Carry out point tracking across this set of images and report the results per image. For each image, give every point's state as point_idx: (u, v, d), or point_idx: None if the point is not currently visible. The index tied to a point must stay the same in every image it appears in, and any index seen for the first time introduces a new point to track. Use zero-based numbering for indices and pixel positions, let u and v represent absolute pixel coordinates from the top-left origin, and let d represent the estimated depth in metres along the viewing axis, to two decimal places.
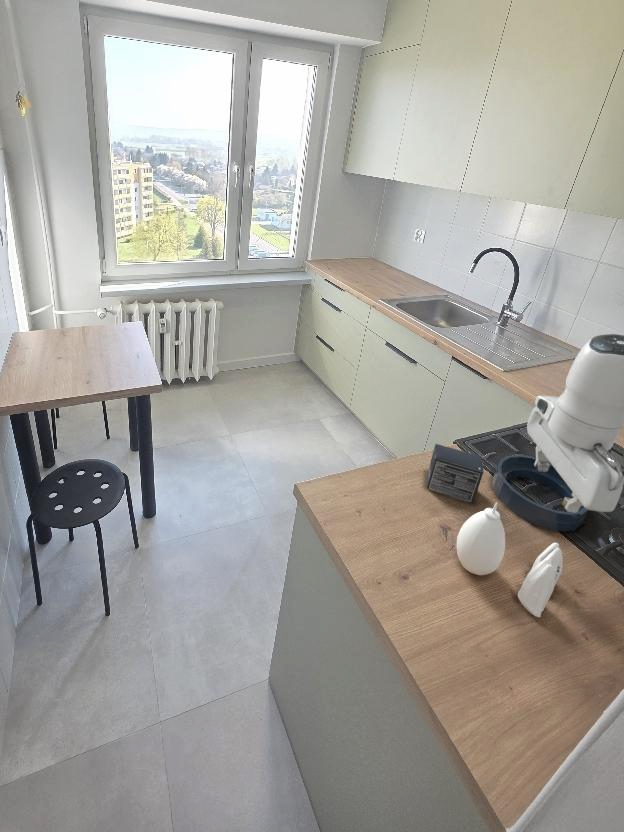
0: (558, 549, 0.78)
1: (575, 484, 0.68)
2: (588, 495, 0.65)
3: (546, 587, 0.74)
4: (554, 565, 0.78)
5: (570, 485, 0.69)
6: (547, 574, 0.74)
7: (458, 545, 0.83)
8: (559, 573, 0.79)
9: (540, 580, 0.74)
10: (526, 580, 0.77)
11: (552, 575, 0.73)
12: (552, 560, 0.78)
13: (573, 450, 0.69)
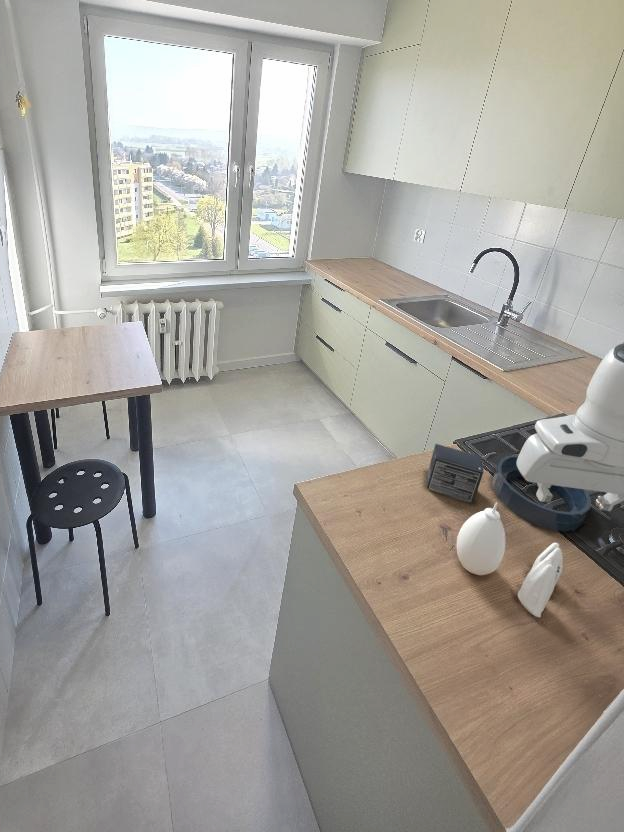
0: (558, 549, 0.78)
1: None
2: None
3: (546, 587, 0.74)
4: (554, 565, 0.78)
5: None
6: (547, 574, 0.74)
7: (458, 545, 0.83)
8: (559, 573, 0.79)
9: (540, 580, 0.74)
10: (526, 580, 0.77)
11: (552, 575, 0.73)
12: (552, 560, 0.78)
13: None
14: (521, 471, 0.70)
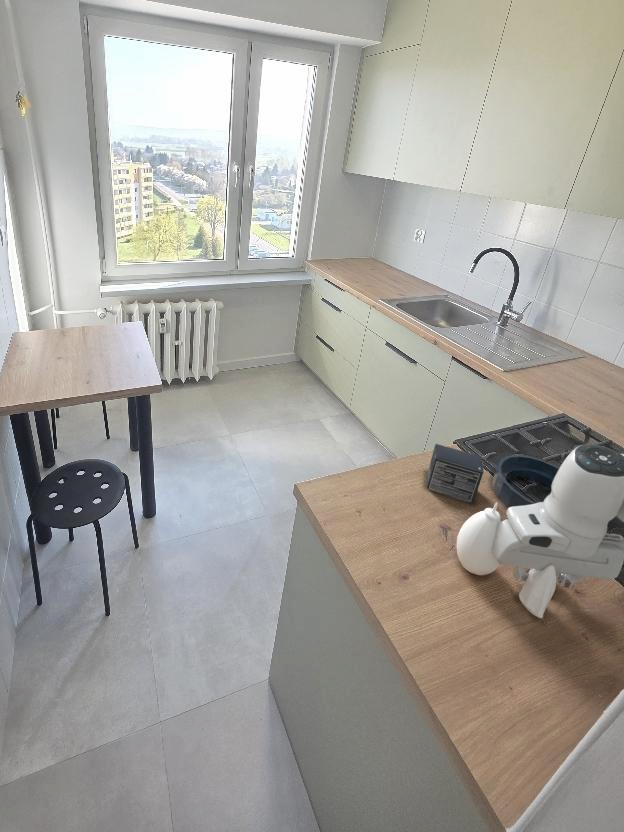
0: None
1: (594, 572, 0.73)
2: (613, 572, 0.73)
3: (548, 587, 0.74)
4: None
5: (587, 575, 0.74)
6: (549, 575, 0.74)
7: (458, 545, 0.83)
8: None
9: (541, 581, 0.74)
10: (527, 581, 0.77)
11: (553, 575, 0.73)
12: None
13: None
14: (494, 554, 0.76)
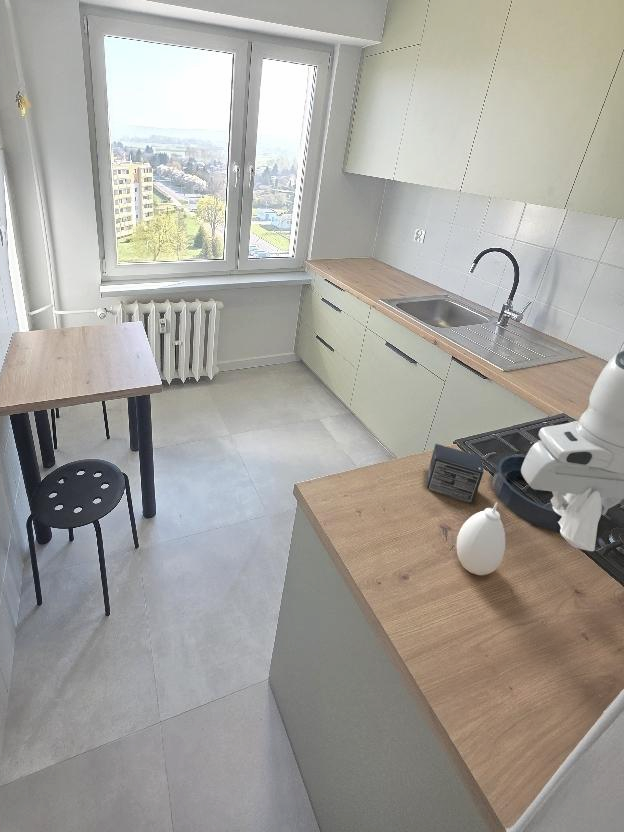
0: None
1: None
2: None
3: (596, 516, 0.67)
4: None
5: None
6: (596, 502, 0.67)
7: (458, 545, 0.83)
8: None
9: (589, 511, 0.67)
10: (570, 515, 0.69)
11: (600, 501, 0.67)
12: None
13: None
14: (526, 479, 0.70)
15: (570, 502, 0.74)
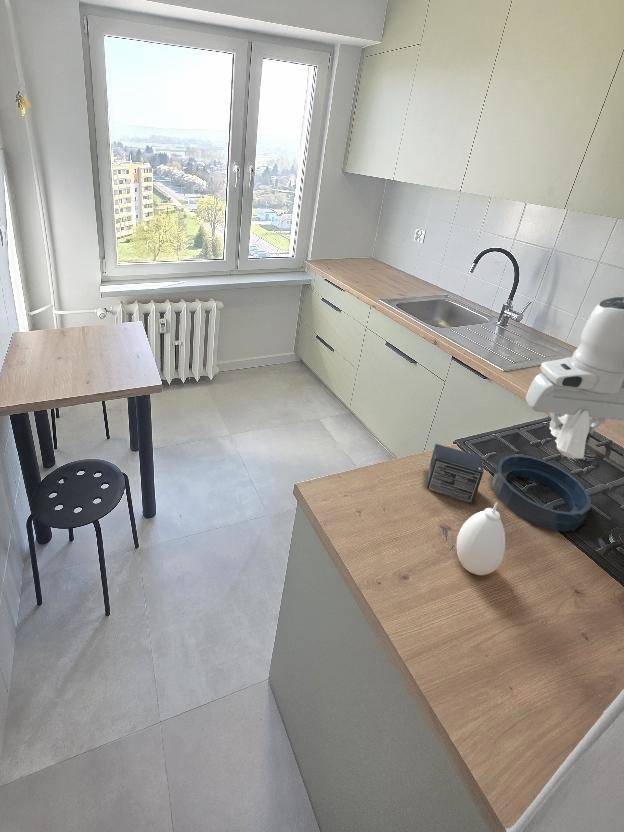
0: None
1: (617, 413, 0.85)
2: None
3: (585, 430, 0.85)
4: None
5: (611, 416, 0.85)
6: (585, 419, 0.84)
7: (458, 545, 0.83)
8: None
9: (579, 427, 0.85)
10: (564, 432, 0.87)
11: (588, 419, 0.85)
12: None
13: (609, 393, 0.83)
14: (530, 403, 0.88)
15: (564, 425, 0.91)
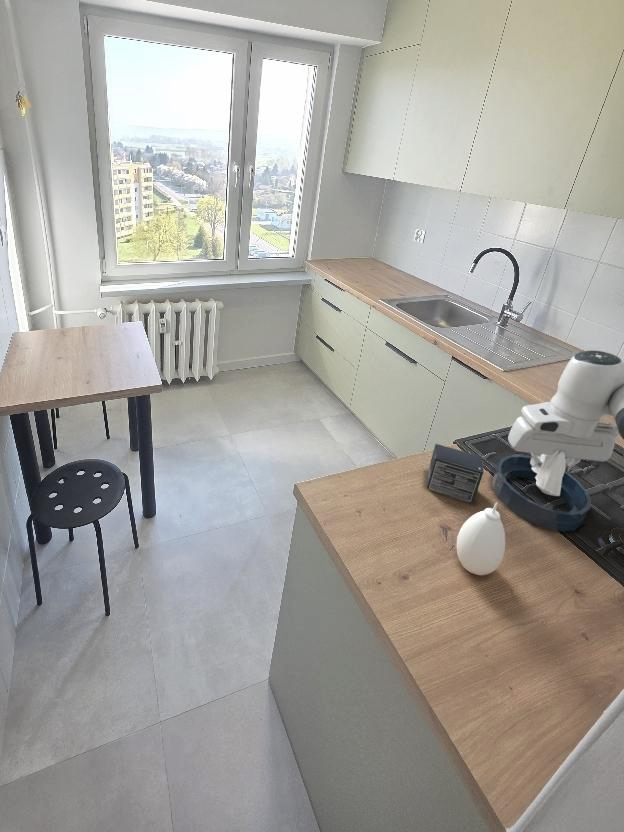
0: None
1: (591, 454, 0.92)
2: (607, 453, 0.92)
3: (561, 470, 0.92)
4: None
5: (586, 457, 0.93)
6: (561, 460, 0.92)
7: (458, 545, 0.83)
8: None
9: (556, 467, 0.92)
10: (543, 470, 0.95)
11: (564, 459, 0.92)
12: None
13: None
14: (511, 443, 0.95)
15: (544, 462, 0.99)
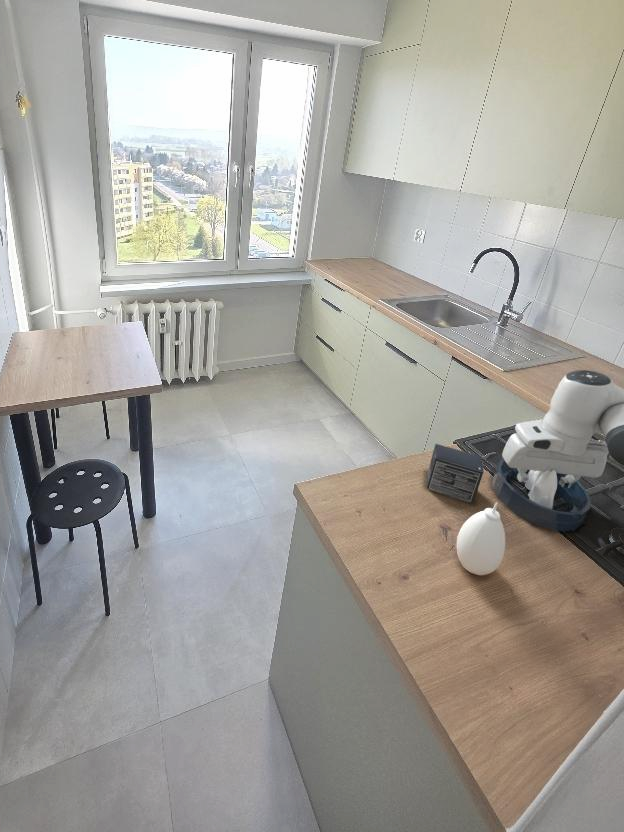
0: None
1: (583, 471, 0.94)
2: (599, 470, 0.93)
3: (553, 488, 0.94)
4: None
5: (578, 474, 0.94)
6: (553, 478, 0.94)
7: (458, 545, 0.83)
8: None
9: (548, 485, 0.94)
10: (535, 488, 0.97)
11: (556, 478, 0.94)
12: None
13: None
14: (505, 460, 0.97)
15: (536, 480, 1.01)
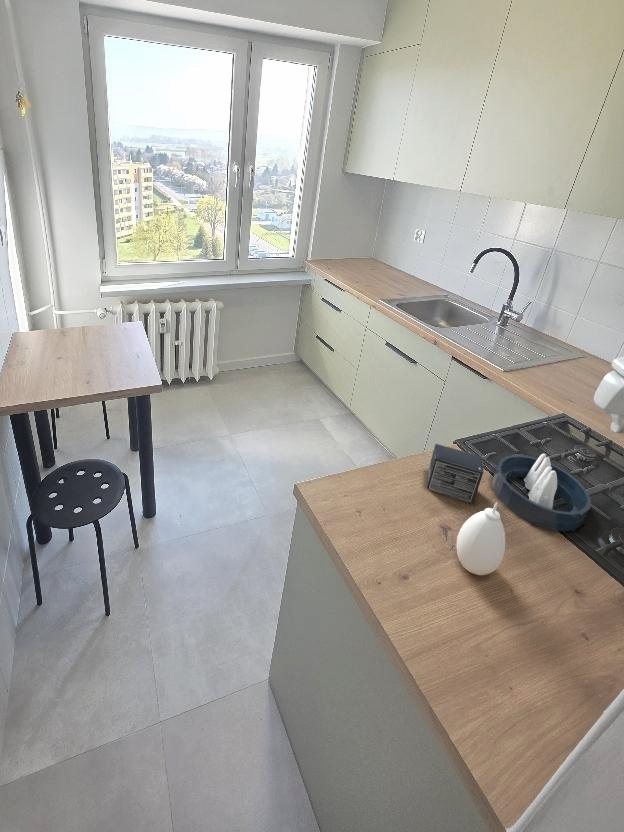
0: (547, 458, 1.00)
1: None
2: None
3: (553, 488, 0.94)
4: None
5: None
6: (553, 478, 0.94)
7: (458, 545, 0.83)
8: None
9: (548, 485, 0.94)
10: (535, 488, 0.97)
11: (556, 478, 0.94)
12: (544, 467, 1.00)
13: None
14: (600, 404, 0.78)
15: (536, 480, 1.01)
